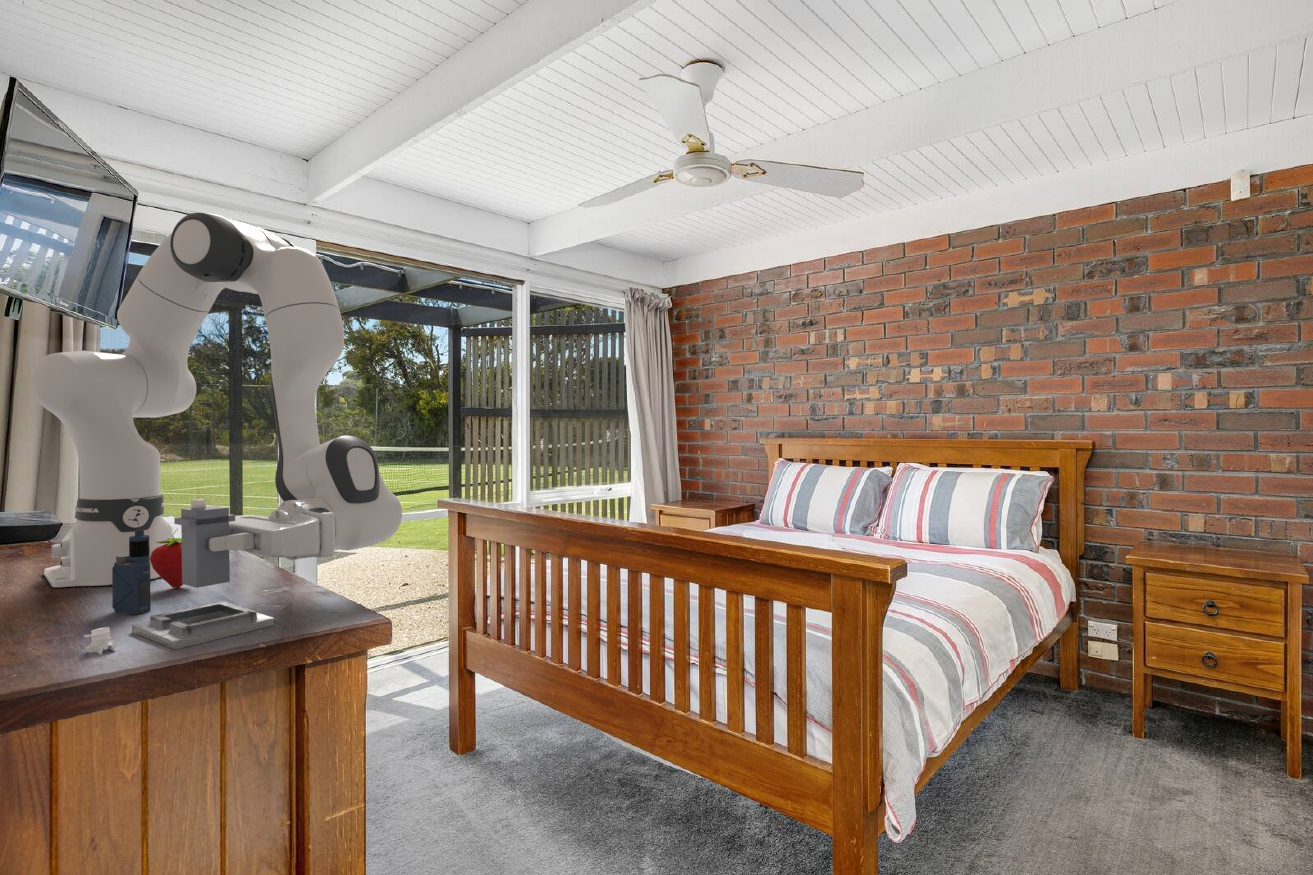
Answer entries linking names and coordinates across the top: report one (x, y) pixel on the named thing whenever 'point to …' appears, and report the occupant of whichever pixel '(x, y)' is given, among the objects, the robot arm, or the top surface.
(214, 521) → the block
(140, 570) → the vaping device
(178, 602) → the top surface
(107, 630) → the power adapter
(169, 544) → the strawberry
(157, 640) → the plate
